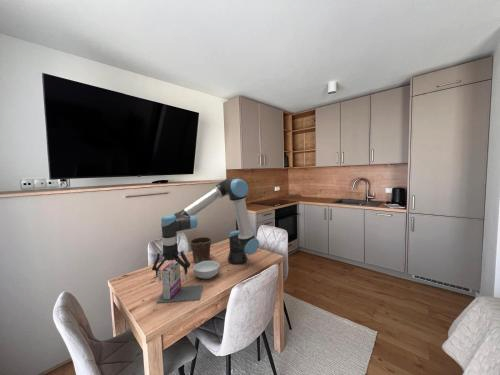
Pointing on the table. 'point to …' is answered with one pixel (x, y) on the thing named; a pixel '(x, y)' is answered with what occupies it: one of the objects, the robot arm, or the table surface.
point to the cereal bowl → (206, 269)
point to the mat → (184, 294)
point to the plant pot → (201, 249)
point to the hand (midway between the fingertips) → (172, 280)
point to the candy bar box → (171, 280)
